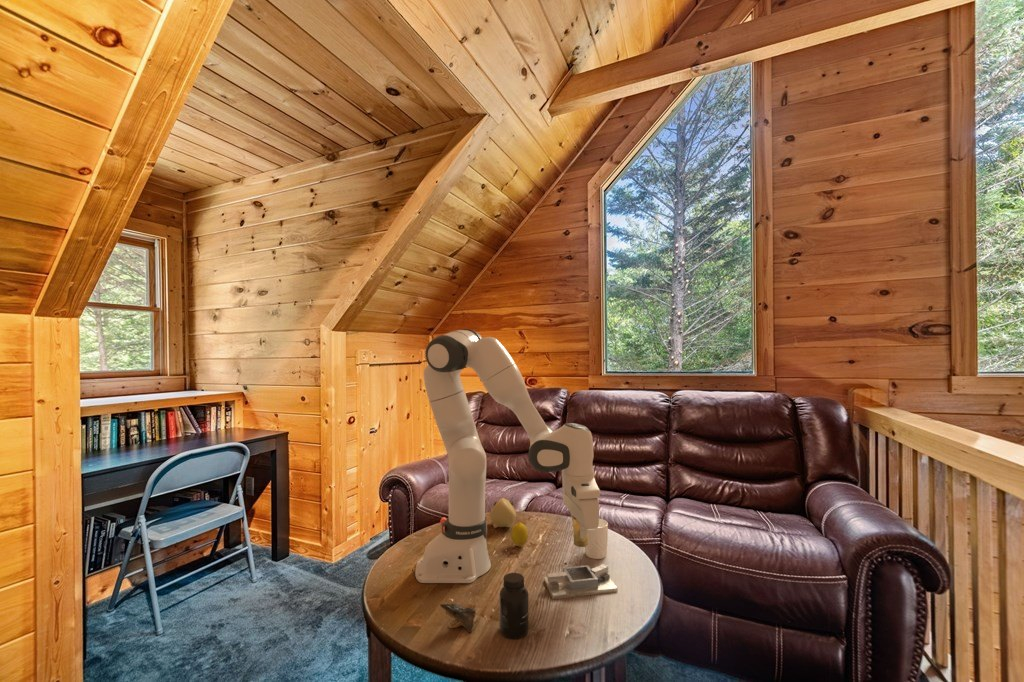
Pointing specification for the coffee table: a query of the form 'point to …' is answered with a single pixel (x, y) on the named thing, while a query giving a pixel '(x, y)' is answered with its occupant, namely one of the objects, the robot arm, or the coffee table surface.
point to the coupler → (577, 539)
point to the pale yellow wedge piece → (502, 513)
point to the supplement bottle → (514, 607)
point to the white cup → (597, 541)
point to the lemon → (519, 534)
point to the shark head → (460, 616)
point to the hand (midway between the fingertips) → (579, 532)
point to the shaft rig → (580, 582)
